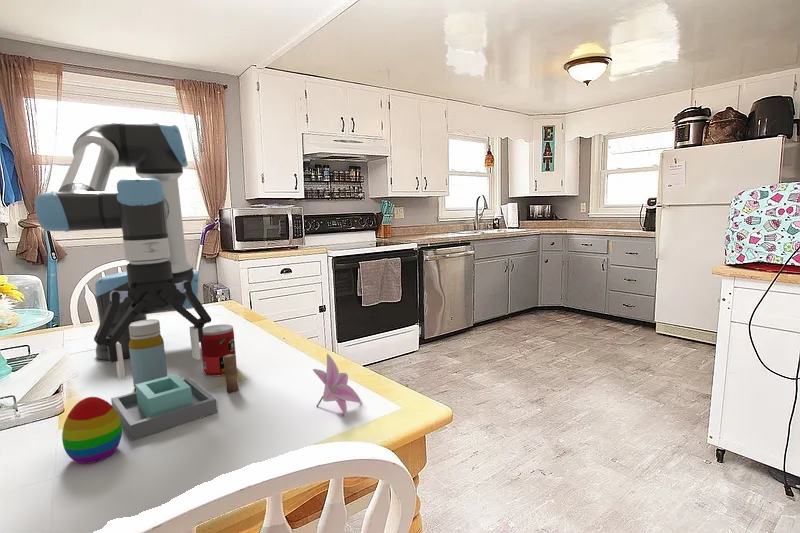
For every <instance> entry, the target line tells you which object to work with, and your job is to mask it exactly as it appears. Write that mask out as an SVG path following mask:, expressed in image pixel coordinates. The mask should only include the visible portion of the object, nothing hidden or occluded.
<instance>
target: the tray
mask: <svg viewBox="0 0 800 533" xmlns="http://www.w3.org/2000/svg"><path fill="white" fill-rule="evenodd" d="M181 379H182V380H183V381H184V382H186V383H187V384H188V385H189V386H191V391H192V401H193V404H191V405H188V406H185V407H181V408H178V409H175V410H172V411H168V412H165V413H162V414H159V415H155V416H152V417H149V418H146V417H145V416H144V415H143V413H142V412H141V411H140V410H139V408H138V403H137V394H136V391H133V392H130V393H126V394H121V395H118V396H114V397H112V398H110V400H111V401H110V402H111V405H112V406H113V407H114V409H115V410H116V411H117V413H118V415H119V417H120V420H121V424H122V429H124V431H125V432H126V433H127V435H128V436H129V438H130V440H131V441H134V440H138V439H141V438H144V437H148V436H150V435H153V434H156V433H158V432H162V431H165V430H168V429H171V428H174V427H177V426H180V425H183V424H186V423H189V422H192V421H195V420H197V419H200V417H201V418H204V417H206V415H207V416H210V415H213V414H216V413H218V406H217V405H218V404H217V398H216V397H214V396H213V395H212V394H211V393H209V392H208V391H207V390H205V388H203V387H202V386H200V385H199V384H198V383H196V381H194V380H193V379H191V378H190V377H186V378H181ZM215 412H216V413H215ZM212 413H213V414H212ZM209 414H210V415H209ZM203 416H204V417H203ZM182 423H183V424H182ZM179 424H180V425H179ZM170 427H171V428H170Z"/></svg>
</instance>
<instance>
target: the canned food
mask: <svg viewBox="0 0 800 533" xmlns="http://www.w3.org/2000/svg"><path fill="white" fill-rule="evenodd" d="M202 329H203V342H200V352H201V359H202V365H203V366H202V368H203V373H204V374H205V375H207V376H209V375H210V376H209V377H218V375H220V376H224V375H225V367H224V356H226V355H229V354H235V355H236V344H235V343H236V342H235V333H234V332H235V330H234V326H233V325H231V324H227V323H226V324H224V323H223V324H221V323H220V324H213V325H208V326H204V327H203V328H202ZM236 356H237V355H236Z"/></svg>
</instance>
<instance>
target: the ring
mask: <svg viewBox="0 0 800 533" xmlns="http://www.w3.org/2000/svg"><path fill="white" fill-rule="evenodd" d="M182 379H183V378H181V377H180V376H179V375H177V374H174V373H173V374H171V375H167V376H166V377H162V378H158V379H155V380H151V381H147V382H143V383H139V384H135V386H136V388H135V392H136V394H137V403H138V408H139V410H140V411H141V412H142V413H143V415H144V416H145V417H146V418H149V417H152V416H155V415H159V414H162V413H165V412H168V411H172V410H175V409H178V408H181V407H185V406H188V405H191V404H193V401H192V391H191V386H189V385H188V384H187V383H186V382H184V381H183V380H182Z"/></svg>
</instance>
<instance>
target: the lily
mask: <svg viewBox="0 0 800 533" xmlns="http://www.w3.org/2000/svg"><path fill="white" fill-rule="evenodd" d="M312 371H313V372H314V374H315V375H316V376H317V377H318V379H320V381H321V382H322V383H323V384H324V389H323V395H322V396H321V397H320V399H319V401H318V403H317V405H316V408H319V405H321V404H320V403H322V401H323V402H326V403H327V402H336V403H337V405H338V406H339V409H340V410H341V412H342V414H343V415H344V417H345V418H346V417H347V414H348V405H347V402H352V403H358V404H362V400H361V398H360V396H359V394H358V393H356V391H355V390H354V389H353V388H352V386H350V385H349V384H348V383H349V382H348V381H349V375H348V373H347V372H339V367H338V366H337V364H336V362H335V360H334V359H333V358H332V357H331V356H330V354H329V353H326V371H324V370H321V369H318V368H313V369H312Z"/></svg>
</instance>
